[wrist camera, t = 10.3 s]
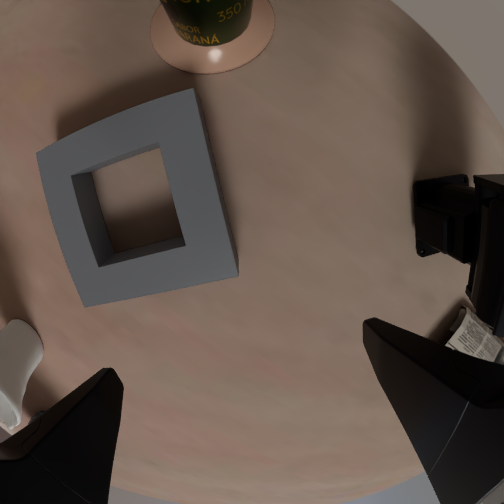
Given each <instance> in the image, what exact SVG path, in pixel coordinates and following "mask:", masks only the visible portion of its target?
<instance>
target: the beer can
mask: <svg viewBox="0 0 504 504" xmlns="http://www.w3.org/2000/svg"><path fill="white" fill-rule="evenodd" d="M160 1H161V3H162V5H163V7H164V9H165V11H166V13H167V15H168V17H169V19H170V21H171V23H172V25H173V27H174V29H175V31H176V33H177V34H178V35H179V36H180V37H181V38H182V39H183V40H184V41H187V42H189V43H191V44H193V45H198V46H204V47H211V46H219V45H222V44H226V43H229V42H231V41H232V40H234V39H236V38H237V37H239V36H240V35H241V34H242V33H243V32H244V31H245V30H246V29H247V27H248V25H249V22H250V20H251V13H252V5H253V0H160Z"/></svg>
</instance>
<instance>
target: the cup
mask: <svg viewBox="0 0 504 504" xmlns="http://www.w3.org/2000/svg"><path fill="white" fill-rule="evenodd" d="M43 354H44V349H43V344H42V342H41V339H40V337H39V336H38V334H37V333H36V331H35V330H34V329H33V328H32V327H31V326H30V325H29V324H28V323H26V322H25V321H22V320H20V319H13V320H11V321H10V322H9V323H8V324H7V325H6V326H5V327H4V328H3V329H2V330H1V331H0V421H1V422H3V423H5V424H6V425H7V427H8V428H9V429H13V427H14V426H17V425H18V424H19V423H20V422H21V414H22V400H23V396H24V394H25V390H26V385H27V382H28V380H29V378H30V376H31V374H32V373H33V371H34V369H35V368H36V367H37V365H38V364H39V362H40V361H41V360H42V358H43Z"/></svg>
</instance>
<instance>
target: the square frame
mask: <svg viewBox="0 0 504 504" xmlns="http://www.w3.org/2000/svg"><path fill="white" fill-rule="evenodd" d="M159 147H160V149H161V153H162V157H163V162H164V166H165V170H166V174H167V178H168V182H169V186H170V190H171V193H172V197H173V201H174V205H175V208H176V212H177V216H178V219H179V223H180V226H181V230H182V233H183V236H181V237H177V238H173V239H169V240H165V241H161V242H157V243H153V244H149V245H145V246H141V247H138V248H134V249H130V250H126V251H122V252H119V253H114V250H113V247H112V244H111V241H110V238H109V235H108V232H107V229H106V226H105V222H104V219H103V216H102V212H101V209H100V205H99V202H98V198H97V195H96V191H95V187H94V183H93V179H92V175H91V172H92V171H95V170H97V169H100V168H102V167H105V166H108V165H110V164H113V163H116V162H118V161H121V160H124V159H126V158H129V157H132V156H135V155H138V154H141V153H144V152H147V151H150V150H153V149H156V148H159ZM36 156H37V161H38V166H39V171H40V176H41V180H42V185H43V189H44V193H45V197H46V201H47V205H48V208H49V212H50V215H51V219H52V222H53V226H54V229H55V232H56V235H57V238H58V241H59V244H60V247H61V250H62V253H63V256H64V258H65V261H66V264H67V266H68V269H69V272H70V274H71V277H72V279H73V282H74V284H75V286H76V289H77V291H78V294H79V296H80V298H81V300H82V303H83V305H84V307H89V306H95V305H100V304H105V303H111V302H116V301H121V300H126V299H131V298H136V297H141V296H146V295H151V294H156V293H161V292H166V291H171V290H176V289H181V288H186V287H190V286H195V285H200V284H205V283H209V282H214V281H219V280H223V279H228V278H232V277H237V276H239V263H238V256H237V252H236V248H235V244H234V240H233V236H232V232H231V228H230V224H229V220H228V216H227V212H226V208H225V203H224V199H223V195H222V191H221V187H220V183H219V179H218V174H217V170H216V166H215V162H214V158H213V153H212V149H211V145H210V140H209V136H208V132H207V128H206V123H205V119H204V114H203V110H202V106H201V101H200V98H199V96H198V94H197V93H196V91H195V90H194V88H191V89H187V90H184V91H180V92H177V93H173V94H170V95H167V96H164V97H161V98H158V99H155V100H152V101H149V102H146V103H143V104H140V105H137V106H135V107H132V108H129V109H127V110H124V111H122V112H119V113H117V114H114V115H112V116H109V117H107V118H105V119H102V120H100V121H98V122H96V123H93V124H91V125H89V126H87V127H85V128H83V129H80V130H78V131H76V132H74V133H72V134H70V135H68V136H66V137H64V138H62V139H61V140H59V141H57V142H55V143H53V144H51V145H49V146H48V147H46V148H44V149H42V150H41V151H39V152H37V153H36Z"/></svg>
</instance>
